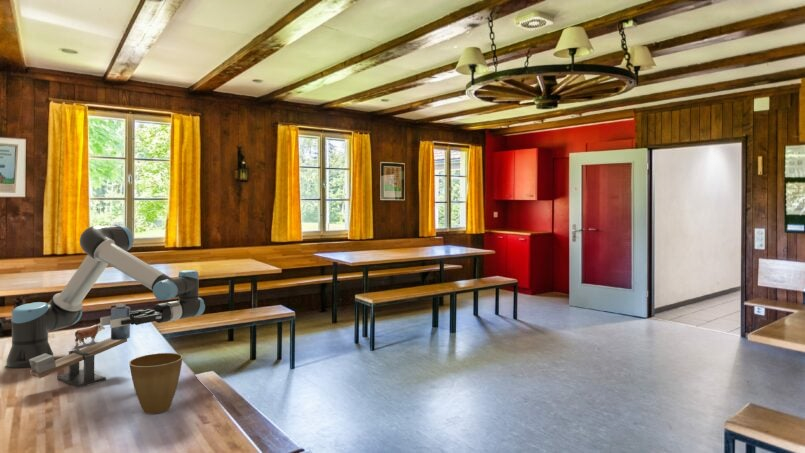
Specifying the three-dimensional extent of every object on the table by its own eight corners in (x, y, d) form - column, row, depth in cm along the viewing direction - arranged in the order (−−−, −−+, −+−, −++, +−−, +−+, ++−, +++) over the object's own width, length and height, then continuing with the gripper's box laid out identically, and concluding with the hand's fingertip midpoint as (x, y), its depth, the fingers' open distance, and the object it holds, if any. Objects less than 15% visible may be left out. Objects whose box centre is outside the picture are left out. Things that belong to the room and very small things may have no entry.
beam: (29, 375, 169) (25, 359, 168) (116, 339, 194) (113, 325, 192) (41, 380, 164) (37, 364, 163) (129, 342, 189) (125, 328, 188)
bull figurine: (106, 340, 233) (106, 323, 233) (77, 346, 221) (77, 329, 221) (100, 338, 235) (100, 322, 235) (71, 345, 223) (71, 327, 222)
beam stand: (57, 378, 179) (57, 352, 179) (83, 372, 187) (83, 346, 187) (79, 387, 171) (78, 359, 171) (105, 380, 179) (105, 353, 178)
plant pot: (192, 402, 159) (192, 354, 158) (160, 421, 144) (160, 368, 144) (153, 398, 162) (153, 350, 162) (117, 416, 148) (117, 364, 147)
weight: (107, 338, 178) (107, 304, 177) (124, 335, 183) (124, 301, 182) (116, 340, 174) (116, 306, 174) (133, 337, 179) (133, 303, 179)
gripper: (181, 324, 189) (120, 337, 169) (152, 318, 199) (92, 329, 179) (181, 305, 188) (120, 315, 169) (152, 300, 198) (92, 309, 179)
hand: (105, 322), depth 174 cm, fingers closed on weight, 6 cm apart
